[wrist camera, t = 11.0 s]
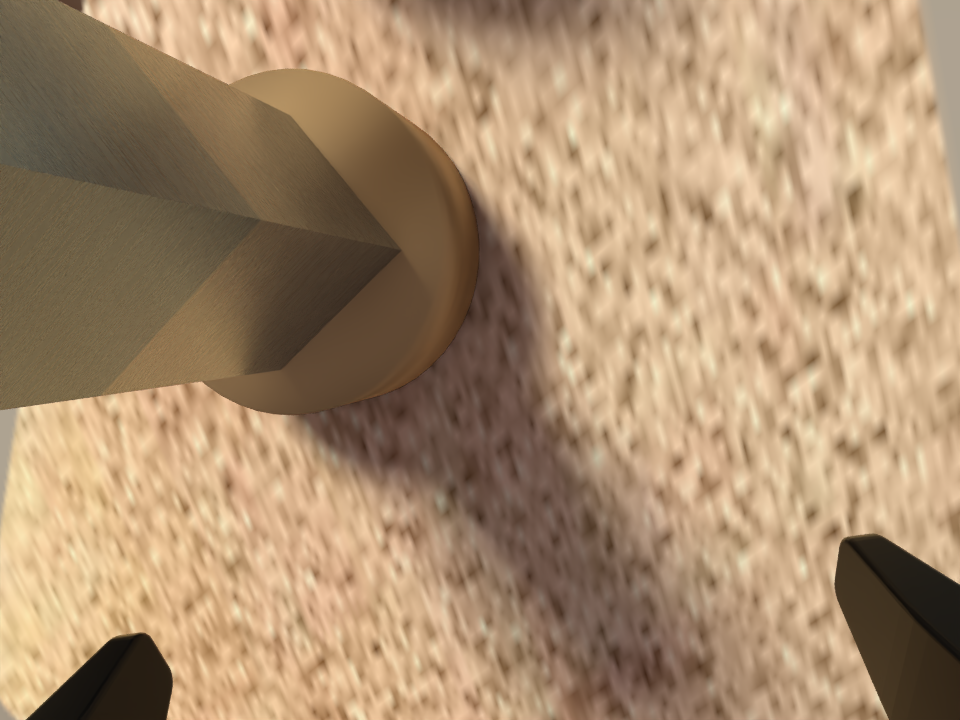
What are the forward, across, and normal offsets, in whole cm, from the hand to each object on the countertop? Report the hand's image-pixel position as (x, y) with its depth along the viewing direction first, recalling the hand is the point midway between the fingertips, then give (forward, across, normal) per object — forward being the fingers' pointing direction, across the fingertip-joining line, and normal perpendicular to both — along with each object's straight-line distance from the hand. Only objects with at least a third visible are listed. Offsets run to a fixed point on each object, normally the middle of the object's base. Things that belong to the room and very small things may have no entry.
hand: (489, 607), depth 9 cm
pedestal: (+16, +5, 0) cm, 17 cm away
